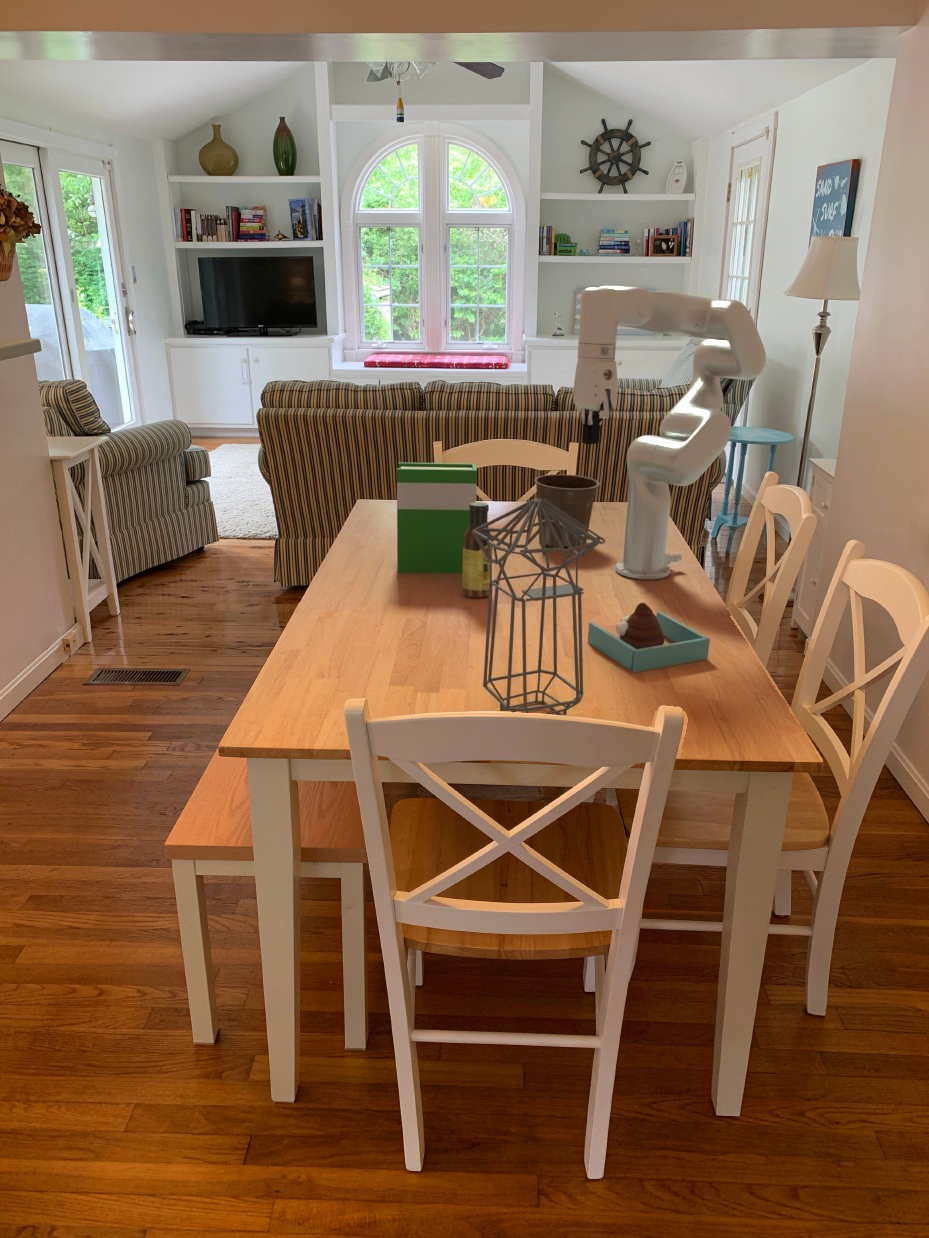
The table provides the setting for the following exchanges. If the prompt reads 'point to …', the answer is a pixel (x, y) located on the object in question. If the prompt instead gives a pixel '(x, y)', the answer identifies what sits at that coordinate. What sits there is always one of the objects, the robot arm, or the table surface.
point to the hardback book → (433, 515)
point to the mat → (550, 591)
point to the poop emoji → (641, 628)
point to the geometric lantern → (571, 528)
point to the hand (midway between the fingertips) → (590, 443)
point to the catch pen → (683, 649)
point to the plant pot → (567, 502)
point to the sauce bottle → (476, 555)
